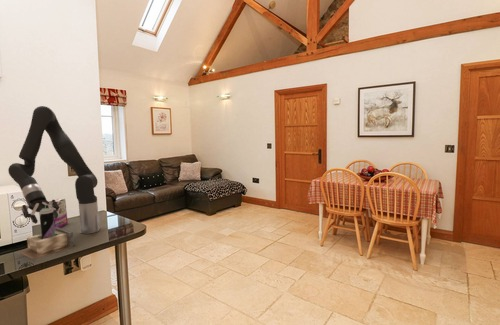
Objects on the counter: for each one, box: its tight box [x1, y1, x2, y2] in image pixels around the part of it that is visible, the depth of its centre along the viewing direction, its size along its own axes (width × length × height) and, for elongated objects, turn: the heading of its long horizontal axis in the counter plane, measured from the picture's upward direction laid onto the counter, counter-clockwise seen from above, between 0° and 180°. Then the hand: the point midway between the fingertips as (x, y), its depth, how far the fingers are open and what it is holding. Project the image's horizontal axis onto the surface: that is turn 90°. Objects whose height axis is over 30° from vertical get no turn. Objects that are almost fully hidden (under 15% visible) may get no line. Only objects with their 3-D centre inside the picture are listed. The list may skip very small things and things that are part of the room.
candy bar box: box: [49, 198, 69, 228], centre depth 167 cm, size 11×5×16 cm, turn 179°
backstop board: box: [17, 227, 75, 260], centre depth 132 cm, size 17×17×8 cm
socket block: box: [26, 230, 68, 255], centre depth 133 cm, size 12×12×6 cm
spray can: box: [38, 205, 56, 239], centre depth 133 cm, size 6×6×20 cm
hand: (46, 220), depth 133 cm, fingers open, 8 cm apart
